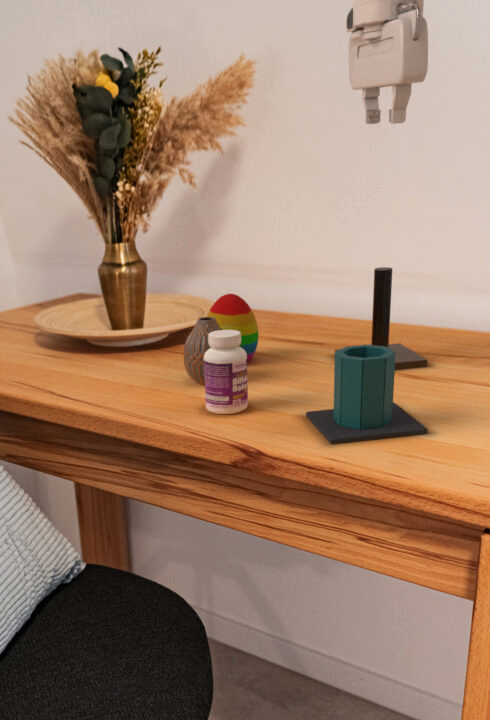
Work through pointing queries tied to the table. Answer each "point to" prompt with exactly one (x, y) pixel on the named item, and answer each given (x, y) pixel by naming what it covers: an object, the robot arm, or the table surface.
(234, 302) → the decorative egg
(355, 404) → the teal octagonal cup
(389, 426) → the felt pad
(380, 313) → the post
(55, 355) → the table surface
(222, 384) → the pill bottle
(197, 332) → the vase
